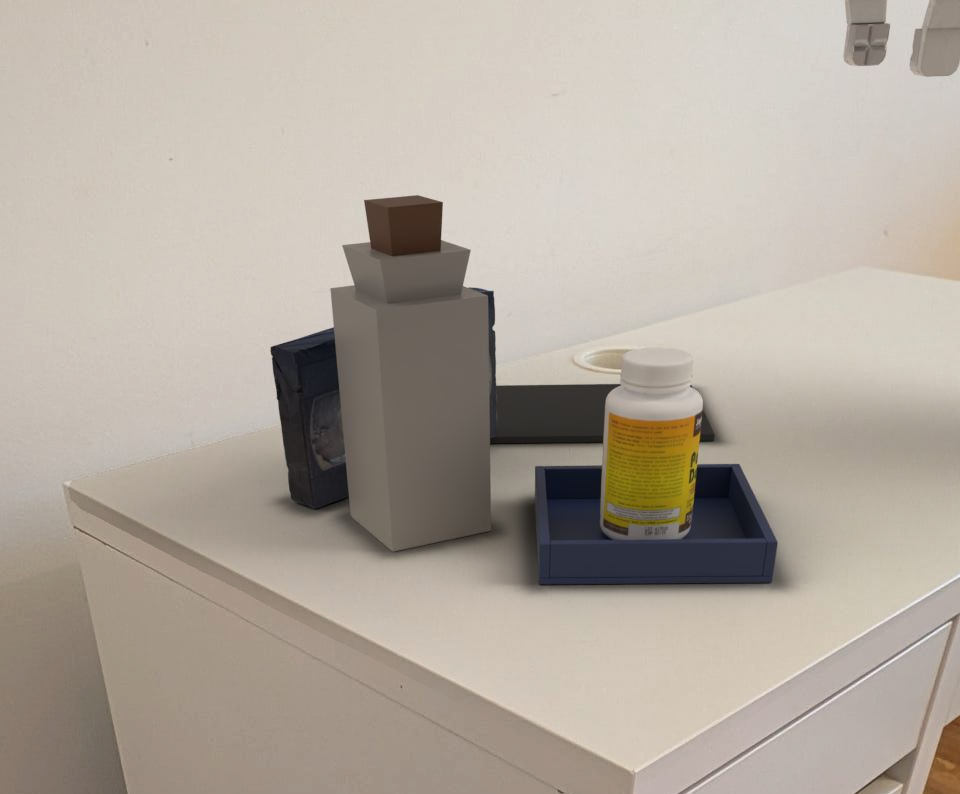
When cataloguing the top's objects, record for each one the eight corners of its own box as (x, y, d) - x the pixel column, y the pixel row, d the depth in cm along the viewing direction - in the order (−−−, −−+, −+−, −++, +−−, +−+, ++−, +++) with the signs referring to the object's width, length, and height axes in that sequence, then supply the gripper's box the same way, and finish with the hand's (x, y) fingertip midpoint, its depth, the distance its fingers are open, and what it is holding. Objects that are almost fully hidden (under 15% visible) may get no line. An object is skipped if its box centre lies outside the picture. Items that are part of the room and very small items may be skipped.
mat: (690, 388, 96) (690, 382, 96) (714, 440, 85) (714, 434, 84) (477, 391, 96) (477, 385, 96) (472, 443, 85) (472, 437, 85)
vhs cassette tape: (313, 511, 75) (292, 351, 68) (285, 501, 76) (261, 343, 70) (504, 437, 85) (500, 291, 78) (475, 429, 86) (469, 285, 80)
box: (735, 500, 75) (739, 463, 73) (772, 582, 64) (778, 542, 63) (534, 502, 75) (535, 465, 74) (538, 584, 65) (539, 544, 63)
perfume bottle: (350, 516, 74) (322, 199, 63) (444, 497, 76) (432, 189, 65) (392, 551, 69) (369, 214, 58) (491, 530, 71) (486, 203, 61)
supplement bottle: (699, 548, 67) (718, 366, 61) (606, 552, 67) (615, 370, 61) (680, 514, 72) (696, 341, 66) (593, 517, 72) (600, 344, 66)
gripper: (1167, -397, 40) (1056, 80, 48) (938, -284, 56) (885, 58, 64) (990, -393, 40) (910, 86, 48) (812, -280, 56) (775, 62, 64)
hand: (895, 70), depth 56 cm, fingers open, 8 cm apart
